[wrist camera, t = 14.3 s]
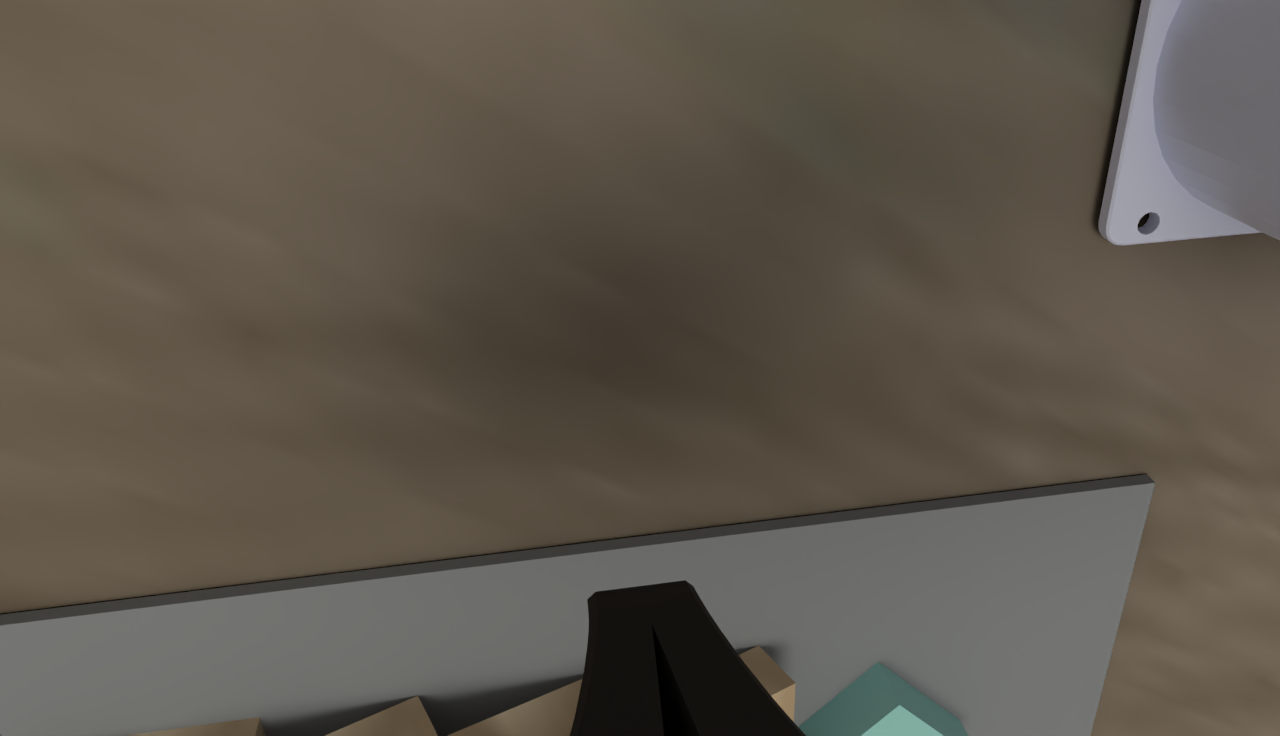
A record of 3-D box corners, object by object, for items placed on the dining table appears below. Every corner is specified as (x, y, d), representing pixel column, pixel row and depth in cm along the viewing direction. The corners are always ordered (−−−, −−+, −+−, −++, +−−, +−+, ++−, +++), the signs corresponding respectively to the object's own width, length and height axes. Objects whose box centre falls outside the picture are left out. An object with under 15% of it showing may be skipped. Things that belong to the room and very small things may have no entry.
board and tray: (2033, 281, 28) (2224, 334, 25) (1766, 668, 35) (1889, 746, 32) (-92, 516, 22) (-186, 627, 19) (108, 930, 29) (64, 1059, 26)
